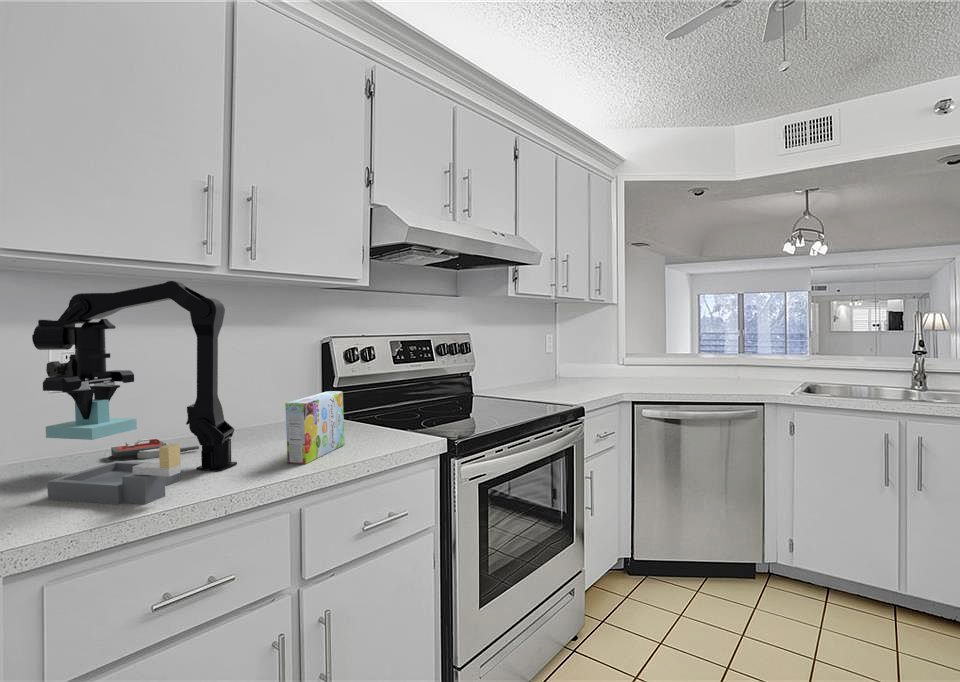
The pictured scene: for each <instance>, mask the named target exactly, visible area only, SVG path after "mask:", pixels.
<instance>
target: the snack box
mask: <svg viewBox="0 0 960 682" xmlns="http://www.w3.org/2000/svg"><path fill="white" fill-rule="evenodd" d="M284 405H285V406H284V408H285V427H286V429H285V433H286V454H287V455H286V456H287V458H286V459H287V460H286V461H287V462H286V463H287V464H296V465H297V464H298V465H299V464H300V465H301V464H303V465H306V464H309V463H311V462H314V460H317V459H318V458H321V457H323V456H326V455H327V454H329V453H330V452H333V451H335V450H337V449H338V448H340V447H342V446H345V444H346V443H345V441H346V440H345V421H344V420H345V419H344V418H345V417H344V416H345V415H344V392H343V391H338V390H335V391H333V390H332V391H329V390H327V391H324V392H323V391H322V392H320V393H317V394H313V395H310V396H305V397H302V398H298V399H295V400H291V401H288V402H286V403H284Z"/></svg>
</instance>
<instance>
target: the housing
mask: <svg viewBox="0 0 960 682" xmlns="http://www.w3.org/2000/svg"><path fill="white" fill-rule="evenodd" d="M142 463H148V462H146V461H145V462H144V461H128V460H123V461H114V460H113V461H111V462H109V463H108V462H107V463H104V464H101V465H98V466H95V467H92V468H87V469H84V470H81V471H78V472H73V473H71V474H67V475H64V476H60V477H57V478H54V479H51V480H47V500H54V501H55V500H56V501H67V502H68V501H69V502H81V503H83V502H84V503H96V504H97V503H98V504H107V505H108V504H109V505H110V504H111V505H112V504H113V505H120V504H123V503H124V504H138V505H139V504H140V505H147V504H149V503H152V502H155V501H157V500H159V499H161V498H163V497H166V487H167V486H168V485H172V484H174V483H177V482H179V481H181V480H180V479H181V478H180V476H181V474H180V473H181V472H180V473H177V474H175V475H172V476H169V477H168V476H151V475H134V474H133V468H132V467H133V466H136V465H139V464H142Z"/></svg>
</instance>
